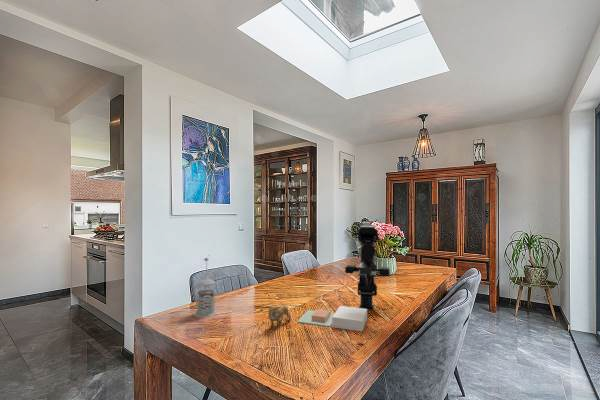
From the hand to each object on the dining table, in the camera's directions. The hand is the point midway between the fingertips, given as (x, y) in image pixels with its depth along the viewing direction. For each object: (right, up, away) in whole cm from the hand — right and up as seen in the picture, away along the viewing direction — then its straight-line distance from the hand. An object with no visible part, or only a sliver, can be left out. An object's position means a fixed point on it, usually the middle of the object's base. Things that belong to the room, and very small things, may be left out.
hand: (367, 290), depth 132 cm
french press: (-73, -12, +4) cm, 74 cm away
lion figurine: (-38, -12, -9) cm, 41 cm away
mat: (-22, -12, -1) cm, 25 cm away
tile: (-20, -9, -2) cm, 22 cm away
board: (-8, -12, -6) cm, 16 cm away
